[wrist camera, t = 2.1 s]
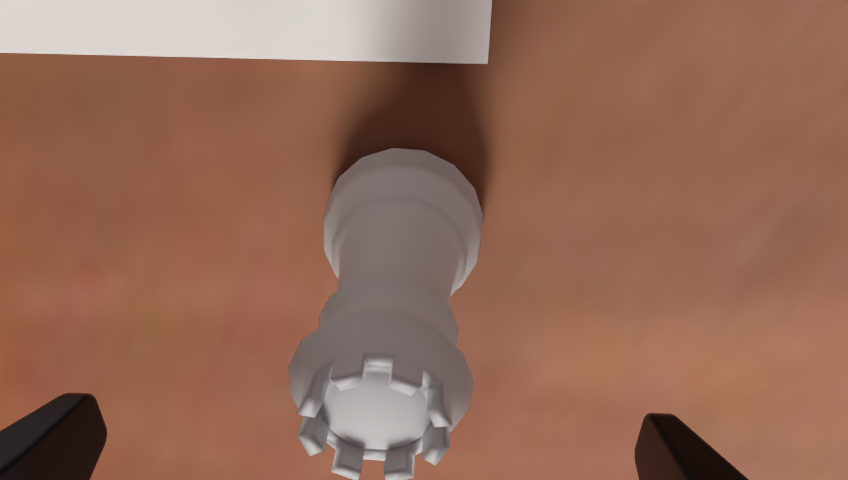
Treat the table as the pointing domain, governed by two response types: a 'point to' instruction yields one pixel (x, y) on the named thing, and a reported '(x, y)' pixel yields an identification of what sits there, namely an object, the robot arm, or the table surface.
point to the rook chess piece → (390, 315)
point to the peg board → (253, 29)
